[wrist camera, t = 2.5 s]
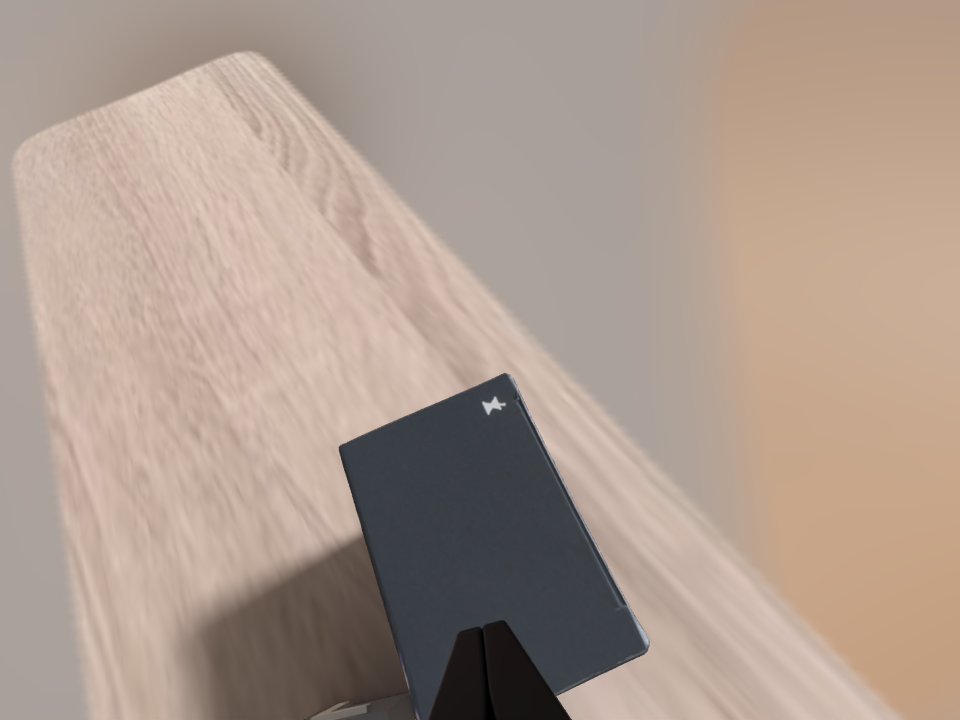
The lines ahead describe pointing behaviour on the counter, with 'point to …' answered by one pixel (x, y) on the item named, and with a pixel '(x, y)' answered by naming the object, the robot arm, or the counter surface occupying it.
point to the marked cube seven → (371, 710)
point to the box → (484, 542)
